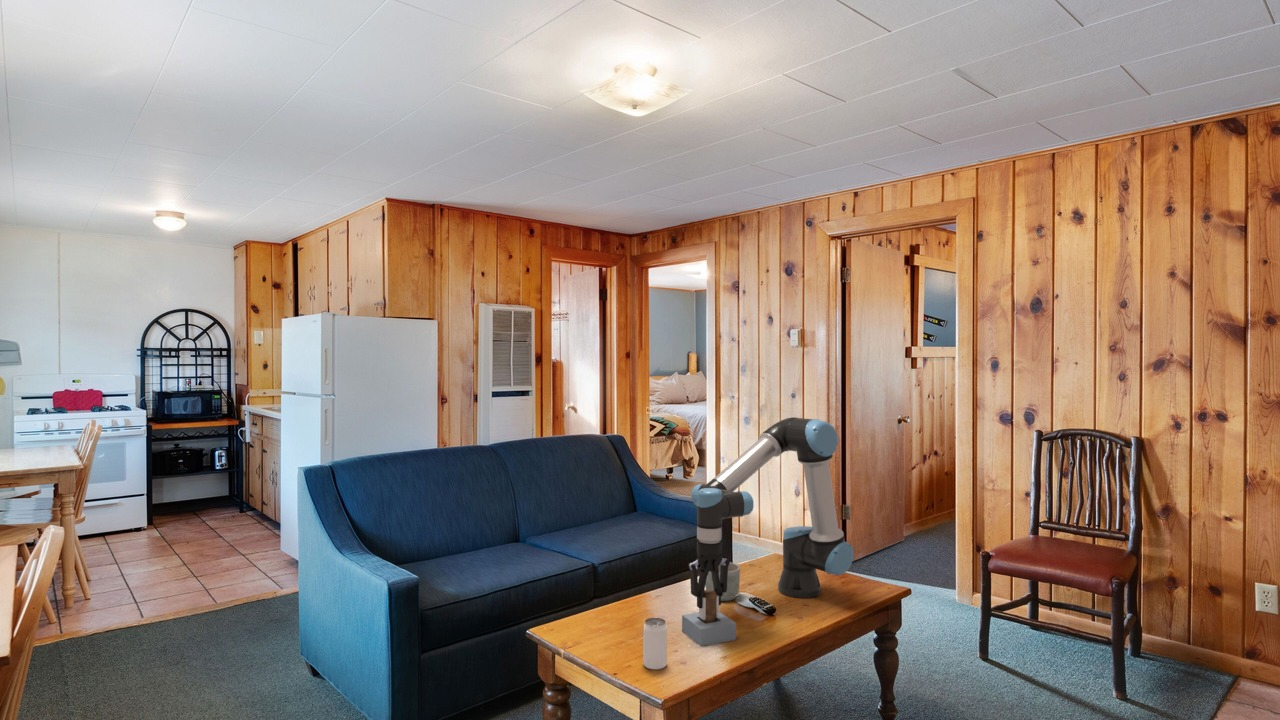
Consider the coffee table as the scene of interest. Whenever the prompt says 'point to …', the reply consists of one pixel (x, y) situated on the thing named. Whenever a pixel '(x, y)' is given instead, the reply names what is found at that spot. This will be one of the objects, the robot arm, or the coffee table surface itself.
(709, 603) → the dowel
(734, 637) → the socket
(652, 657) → the can
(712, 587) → the planter
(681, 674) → the coffee table surface
